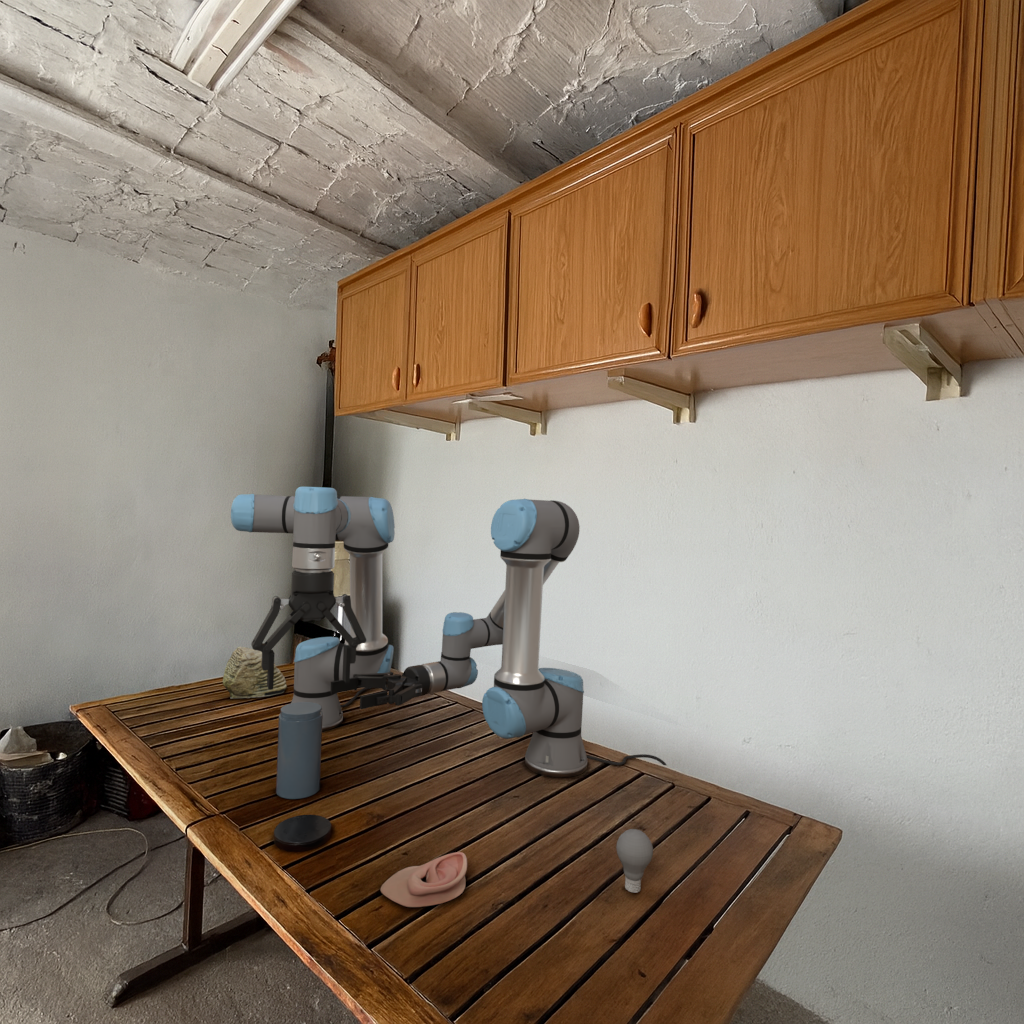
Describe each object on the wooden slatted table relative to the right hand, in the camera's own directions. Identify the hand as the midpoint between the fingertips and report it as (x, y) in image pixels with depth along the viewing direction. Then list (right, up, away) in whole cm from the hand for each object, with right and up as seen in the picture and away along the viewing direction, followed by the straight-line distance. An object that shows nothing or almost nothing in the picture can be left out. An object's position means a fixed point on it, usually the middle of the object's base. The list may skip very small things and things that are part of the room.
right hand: (345, 695), depth 144 cm
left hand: (0, +10, -26) cm, 28 cm away
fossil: (-43, -16, +55) cm, 71 cm away
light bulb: (+58, -22, -38) cm, 73 cm away
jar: (-8, -18, -7) cm, 21 cm away
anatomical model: (+23, -20, -39) cm, 50 cm away
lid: (-1, -18, -26) cm, 31 cm away
